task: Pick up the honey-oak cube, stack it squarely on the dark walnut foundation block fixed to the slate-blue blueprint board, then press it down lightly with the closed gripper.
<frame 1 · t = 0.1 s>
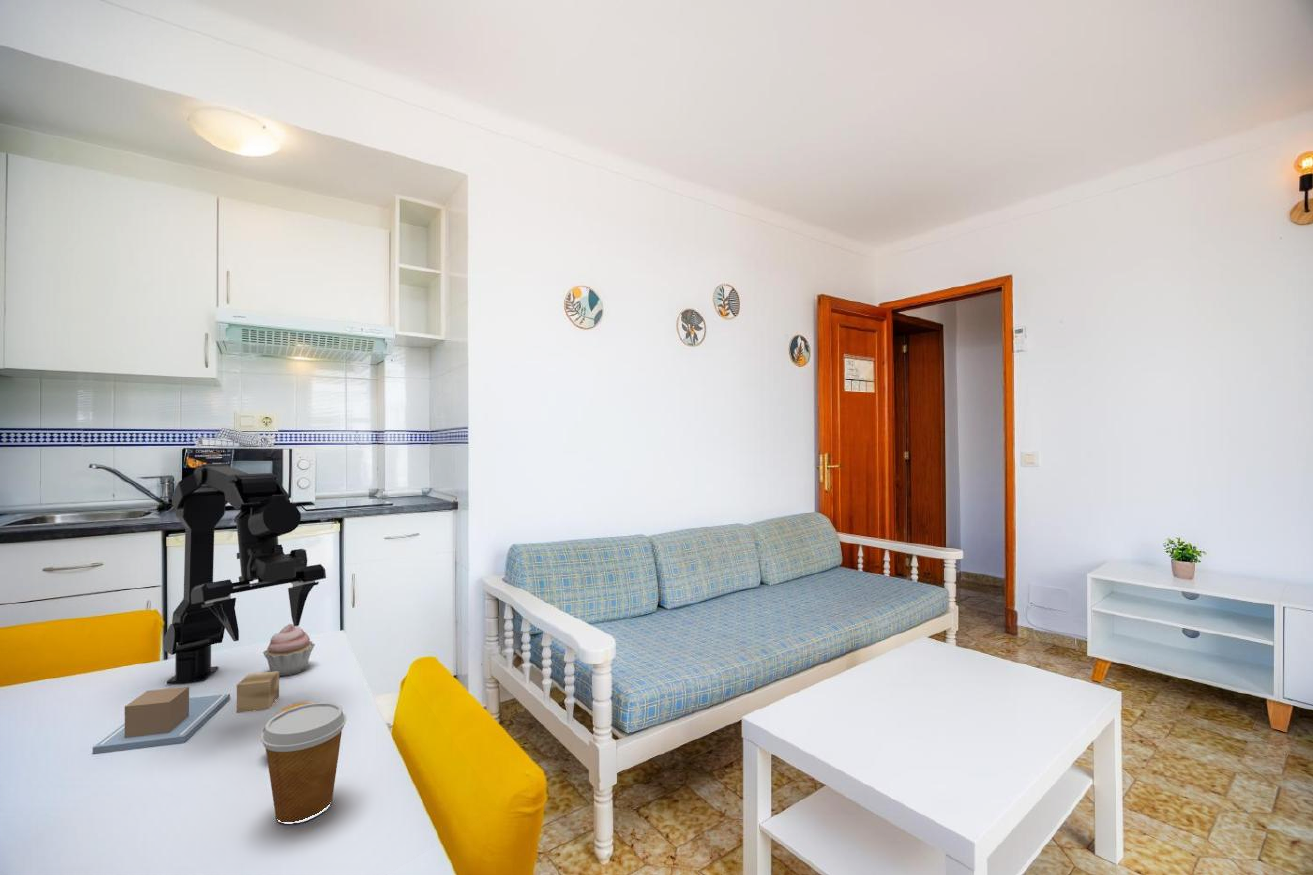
hand: (267, 633, 97), 15 cm above the table, tool pointing down, fingers open, 9 cm apart
cupcake: (289, 671, 119), on the table
fruit: (294, 753, 87), on the table
disposable coffee cup: (304, 810, 74), on the table
blueprint board: (168, 723, 96), on the table
oak cube: (258, 705, 103), on the table
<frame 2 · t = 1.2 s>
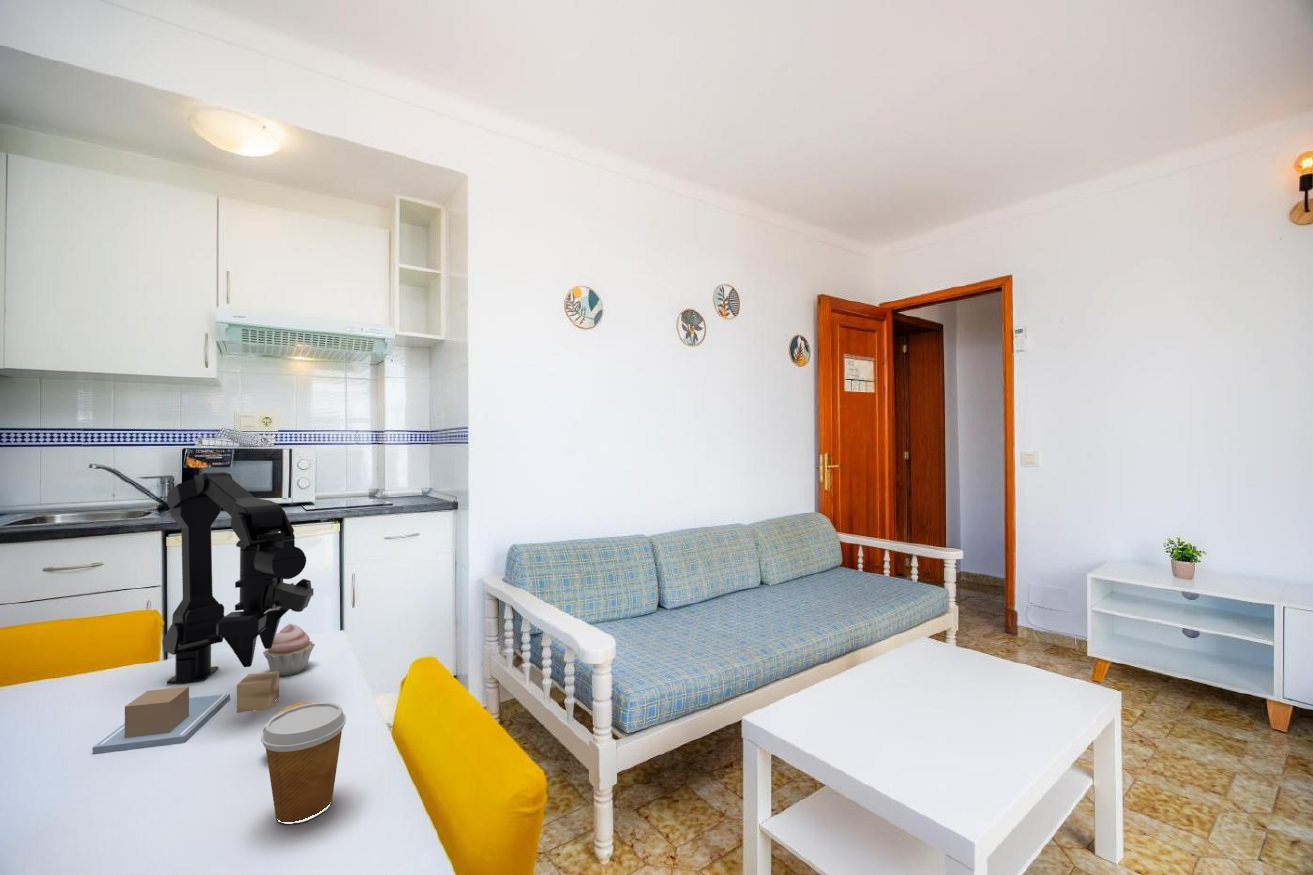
hand: (258, 657, 104), 9 cm above the table, tool pointing down, fingers open, 9 cm apart
nothing on the table moved.
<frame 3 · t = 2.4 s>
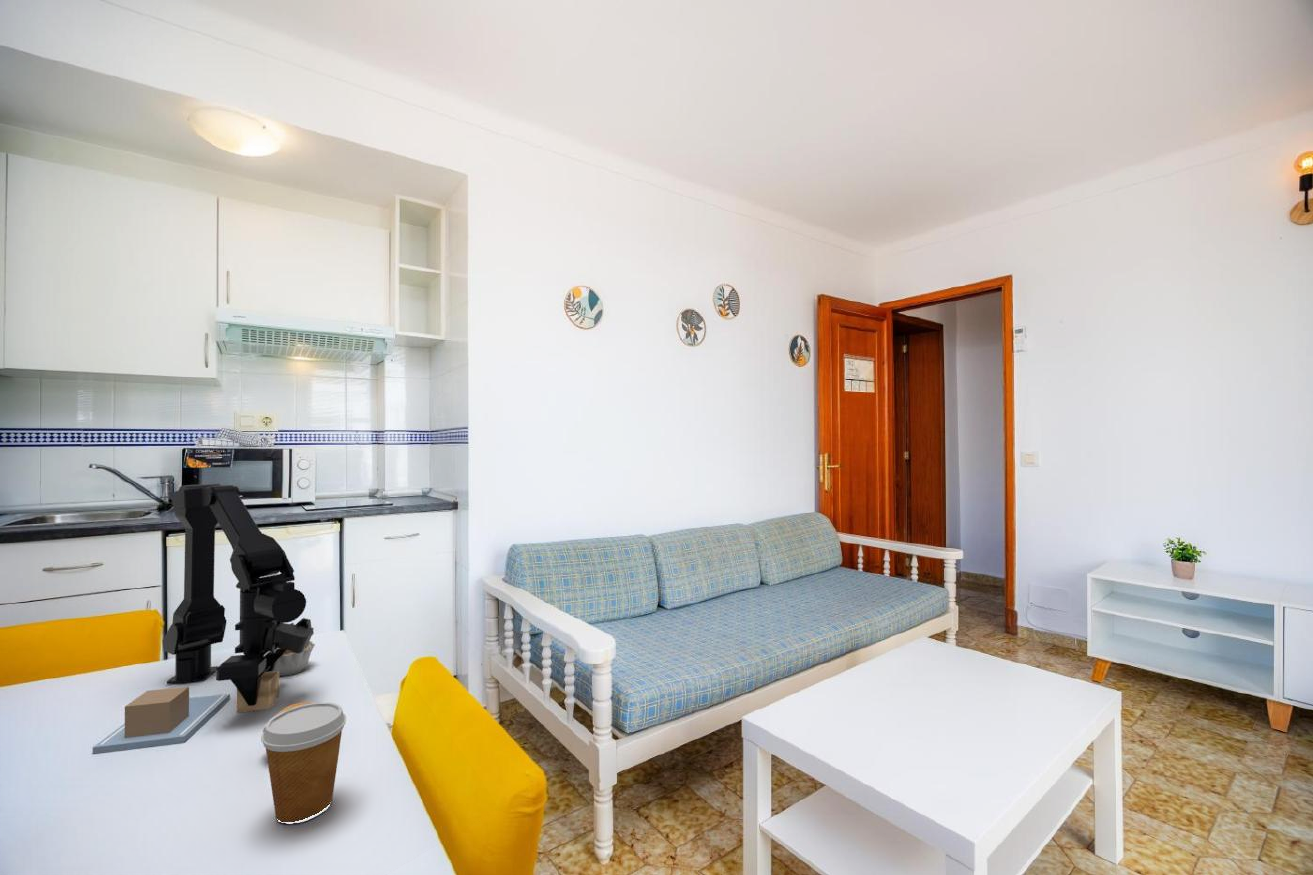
hand: (258, 698, 103), 1 cm above the table, tool pointing down, fingers closed on oak cube, 5 cm apart
oak cube: (258, 704, 103), on the table, touching gripper
everything else where it was.
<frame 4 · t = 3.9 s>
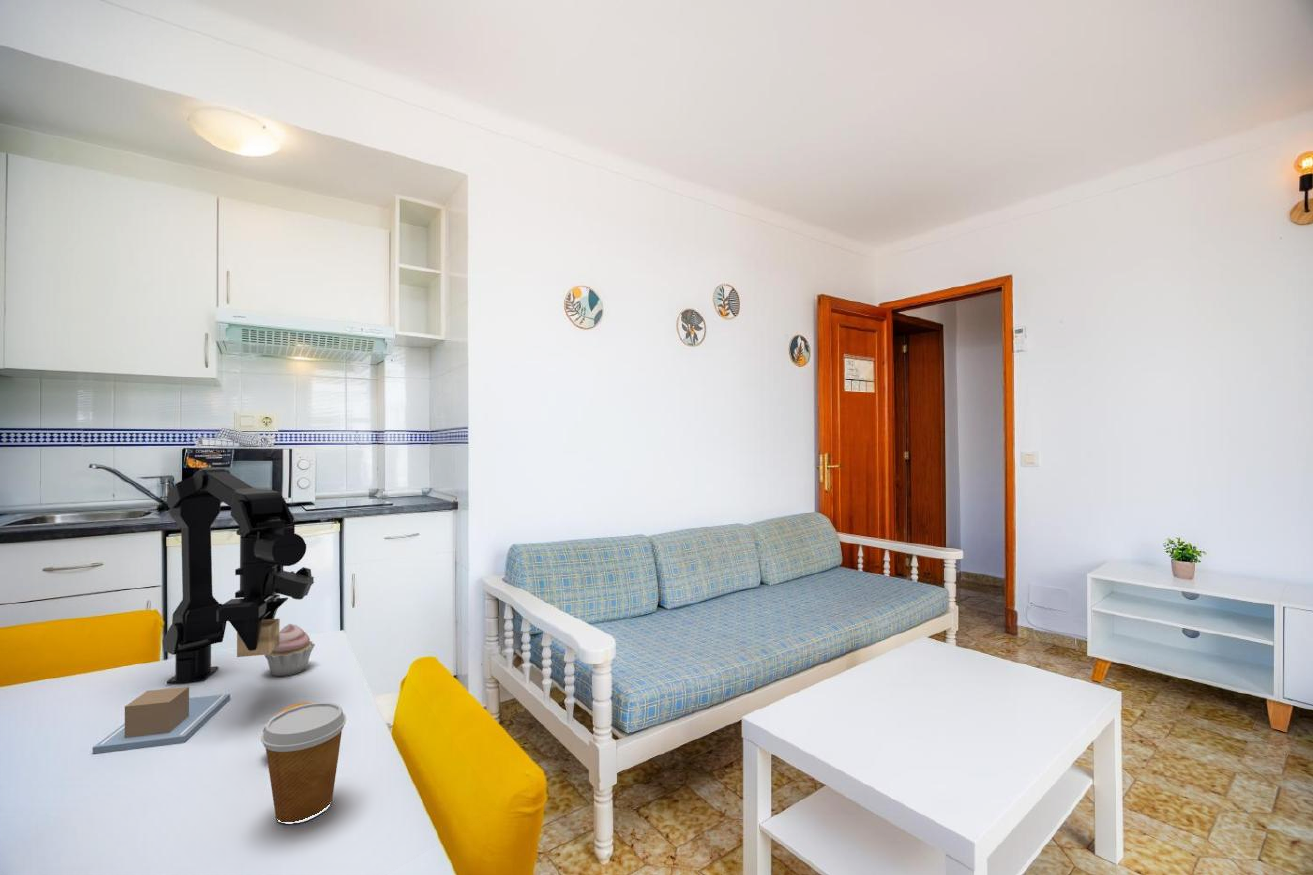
hand: (258, 645, 103), 11 cm above the table, tool pointing down, fingers closed on oak cube, 5 cm apart
oak cube: (258, 650, 103), point 10 cm above the table, touching gripper
everything else where it was.
when the fingers open (8 cm above the table, at t = 5.7 s): oak cube stays where it is, resting on blueprint board.
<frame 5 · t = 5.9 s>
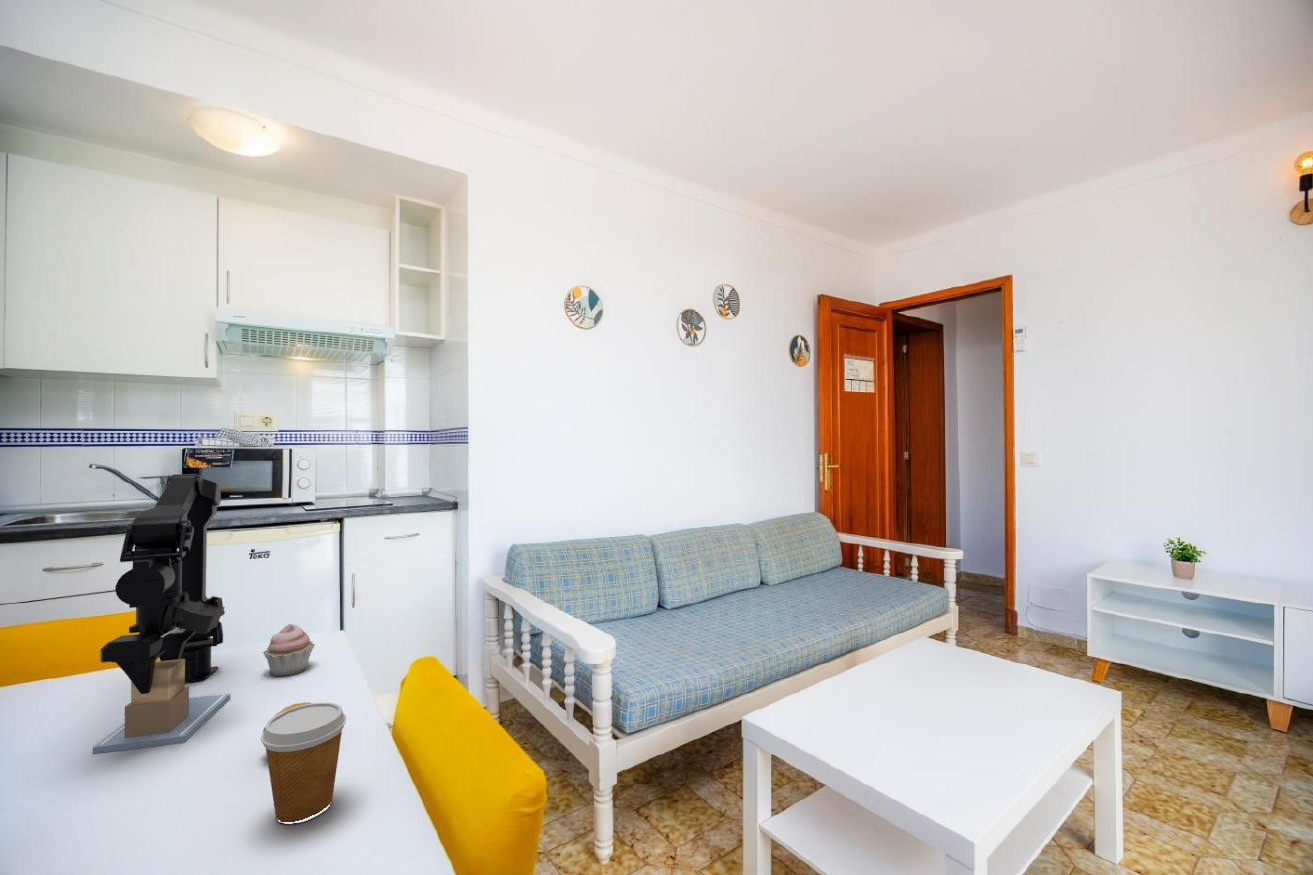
hand: (158, 684, 93), 8 cm above the table, tool pointing down, fingers open, 7 cm apart
oak cube: (158, 696, 93), point 6 cm above the table, touching blueprint board
everything else where it was.
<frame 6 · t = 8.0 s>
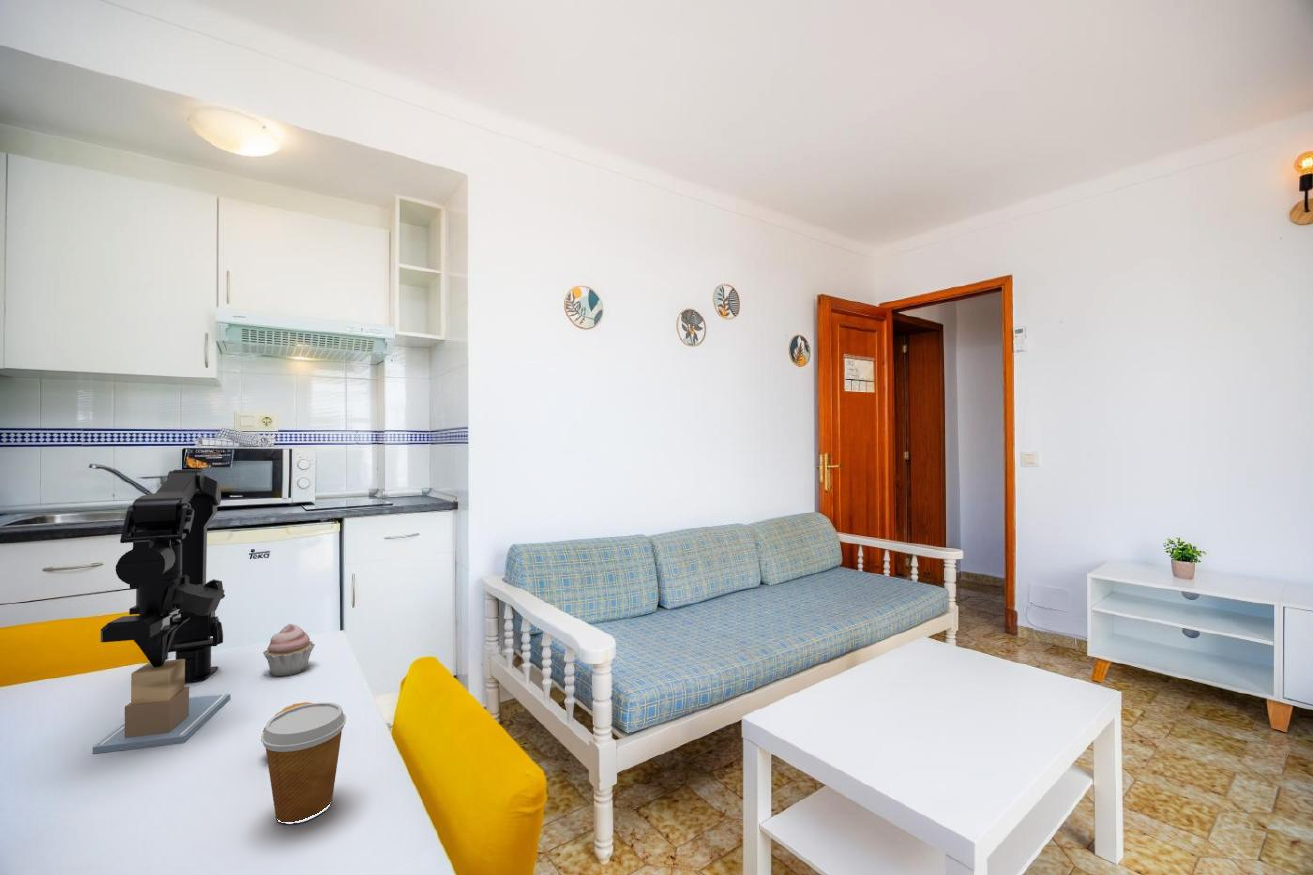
hand: (158, 666, 94), 11 cm above the table, tool pointing down, fingers closed, pressing on oak cube
oak cube: (158, 696, 93), point 6 cm above the table, touching blueprint board, gripper
everything else where it was.
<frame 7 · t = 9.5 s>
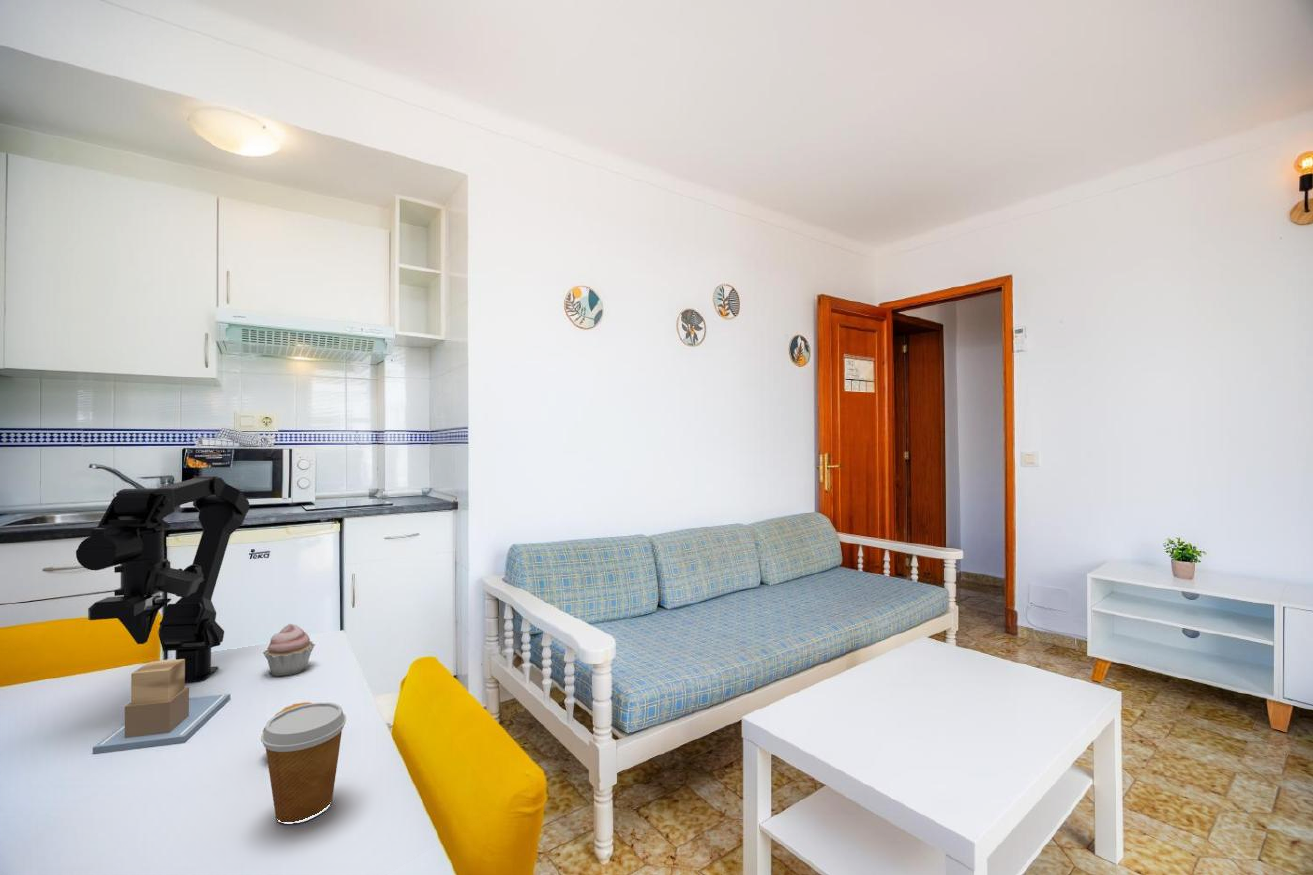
hand: (142, 643, 102), 12 cm above the table, tool pointing down, fingers closed
oak cube: (158, 696, 93), point 6 cm above the table, touching blueprint board
everything else where it was.
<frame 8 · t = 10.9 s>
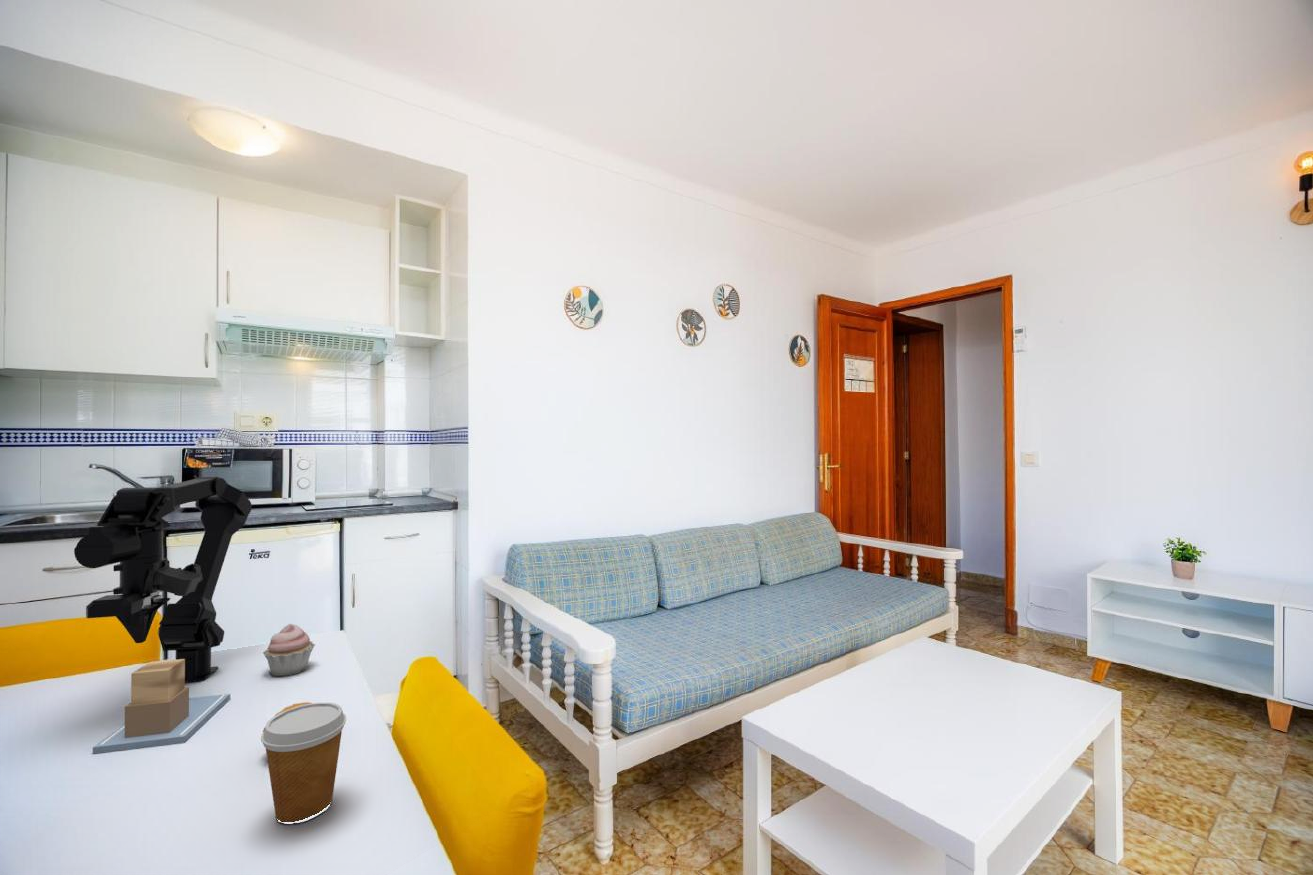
hand: (140, 642, 102), 12 cm above the table, tool pointing down, fingers closed
nothing on the table moved.
at the end: oak cube 0.0 cm from the target spot on the blueprint board, point 6.0 cm above the blueprint board's base; oak cube tilted 0°; the gripper is holding nothing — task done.
